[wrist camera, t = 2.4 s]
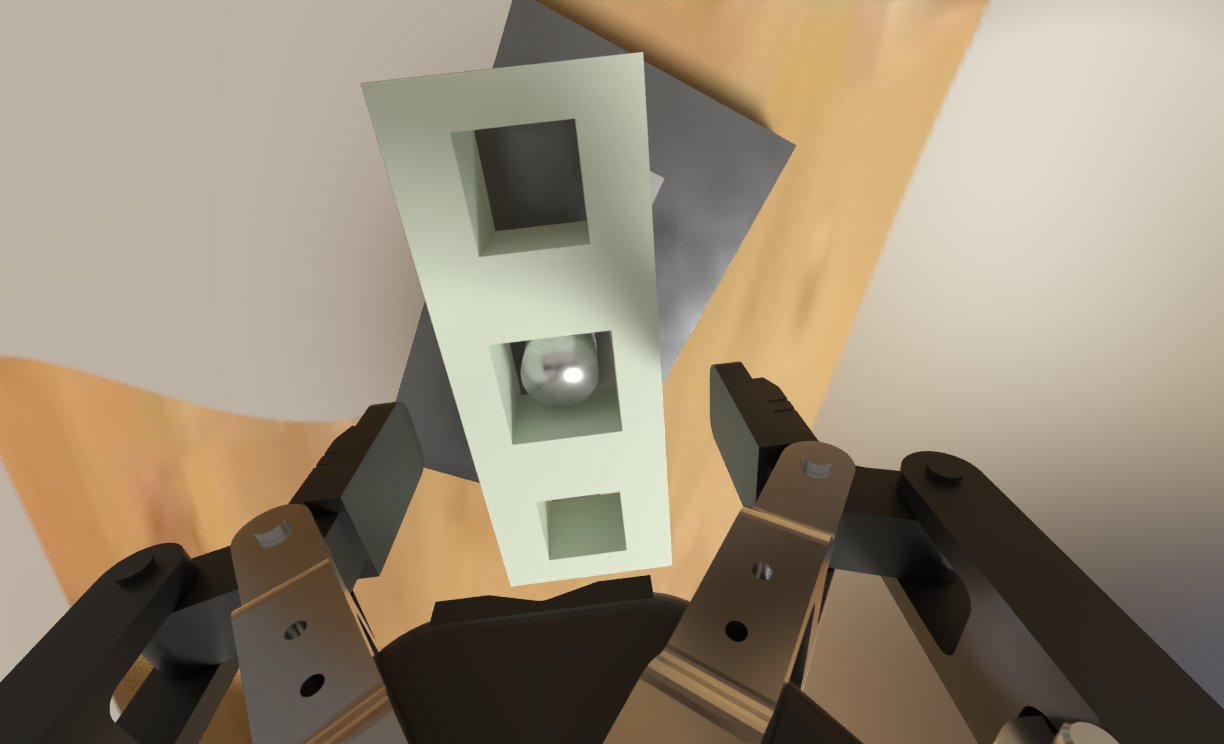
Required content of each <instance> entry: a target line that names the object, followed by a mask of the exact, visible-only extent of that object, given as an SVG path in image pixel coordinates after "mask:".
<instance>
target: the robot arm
mask: <svg viewBox="0 0 1224 744" xmlns="http://www.w3.org/2000/svg"><path fill="white" fill-rule="evenodd" d="M710 422H711V428H712V433H713V436H714V439H715V441H716V444H717V446H718V448H719V451H720V453H721V455H722V458H723V460H724V462H725V465H726V467H727V469H728V472H729V474H730V477H731V479H732V481H733V484H734V486H735V488H736V491H737V493H738V495H739V498H740V500H741V502H742V505H743V508H742V509H741V510H740V512H739V514H738V516H737V517H736V519H735V521H734V523H733V525H732V527H731V528H730V530H729V532H728V534H727V536H726V537H725V539H724V541H723V543H722V545H721V547H720V548H719V550H718V552H717V554H716V556H715V558H714V559H713V561H712V563H711V565H710V567H709V569H708V570H707V572H706V574H705V576H704V578H703V580H702V581H701V583H700V585H699V587H698V589H697V591H696V592H695V594H694V596H693V598H692V600H691V602H689V601H687V600H684V599H682V598H679V597H676V596H672V595H668V594H664V593H657V592H653V590H652V584H651V577H650V575H646V576H638V577H630V578H622V579H614V580H606V581H598V582H595V583H592V584H590V585H587V586H584V587H581V588H579V589H576V590H573V591H570V592H567V593H565V594H562V595H559V596H556V597H554V598H551V599H548V600H545V601H533V600H525V599H516V598H507V597H499V596H490V595H487V596H479V597H471V598H463V599H455V600H447V601H439V602H436V603H435V606H434V610H433V613H432V617H431V620H430V622H427V623H425V624H422V625H420V626H418V627H416V628H414V629H412V630H410V631H408V632H407V633H405V634H403V635H401V636H400V637H398V638H397V639H395V640H394V641H392V642H391V643H390V644H388V645H387V646H385V647H384V648H383V649H381V647H380V645H379V643H378V641H377V639H376V636H375V634H374V632H373V630H372V628H371V626H370V624H369V621H368V619H367V617H366V615H365V613H364V611H363V609H362V606H361V604H360V602H359V600H358V598H357V596H356V594H355V592H354V590H353V588H354V585H355V583H356V581H357V579H361V578H369V577H377V576H380V574H381V571H382V569H383V567H384V564H385V562H386V559H387V557H388V554H389V552H390V550H391V547H392V545H393V542H394V540H395V538H396V535H397V533H398V530H399V528H400V526H401V523H402V521H403V518H404V516H405V513H406V511H407V509H408V506H409V504H410V501H411V499H412V497H413V494H414V492H415V489H416V487H417V484H418V482H419V480H420V477H421V475H422V472H423V467H424V456H423V450H422V447H421V444H420V442H419V439H418V436H417V433H416V431H415V428H414V425H413V422H412V420H411V417H410V414H409V411H408V409H407V407H406V405H405V404H404V403H403V402H392V403H383V404H375V405H371V406H369V407H368V409H367V410H366V412H365V413H364V415H363V416H362V417H361V419H360V420H359V422H358V423H357V425H356V426H351V427H350V428H349V429H347V430H346V431H345V432H344V433H342V434H341V435H340V436H338V437H337V438H336V439H335V440H334V441H333V442H332V444H331V445H330V447H329V448H328V449H327V451H326V452H325V456H322V458H321V459H320V461H319V462H318V463H317V465H316V466H317V467H316V468H314V469H313V470H312V472H311V473H310V474H309V476H308V477H307V479H306V480H305V481H304V483H303V484H302V486H301V487H300V488H299V490H298V491H297V492H296V494H295V495H294V497H293V498H292V499H291V501H290V502H289V504H287V505H282V506H279V507H276V508H273V509H270V510H268V511H266V512H264V513H262V514H260V515H258V516H257V517H255V518H254V519H252V520H251V521H249V522H248V523H247V524H246V525H244V526H243V527H242V528H241V529H240V530H239V531H238V532H237V534H236V535H235V536H234V538H233V540H232V542H231V545H230V546H228V547H225V548H222V549H219V550H216V551H213V552H210V553H207V554H204V555H201V556H198V557H195V558H192V559H191V558H190V556H189V555H188V554H187V552H186V551H185V550H184V548H183V547H182V546H181V545H179V544H177V543H163V544H158V545H154V546H151V547H148V548H146V549H143V550H141V551H138V552H136V553H134V554H132V555H130V556H129V557H127V558H125V559H123V560H122V561H120V562H118V563H117V564H116V565H114V566H113V567H111V568H110V569H109V570H108V571H106V572H105V573H104V574H103V575H102V576H101V577H100V578H99V579H98V580H97V581H96V582H95V583H94V584H93V585H92V586H91V587H90V588H89V589H88V590H87V591H86V592H85V593H84V594H83V596H82V597H81V598H80V599H79V600H78V601H77V602H76V603H75V604H74V605H73V606H72V607H71V608H70V609H69V610H68V611H67V612H66V614H65V615H64V616H63V617H62V618H61V619H60V620H59V621H58V622H57V623H56V624H55V625H54V626H53V627H52V628H51V629H50V630H49V632H48V633H47V634H46V635H45V636H44V637H43V638H42V639H41V640H40V641H39V642H38V643H37V644H36V645H35V646H34V647H33V648H32V649H31V651H30V652H29V653H28V654H27V655H26V656H25V657H24V658H23V659H22V660H21V661H20V662H19V663H18V664H17V665H16V666H15V668H14V669H13V670H12V671H11V672H10V673H9V674H8V675H7V676H6V677H5V678H4V679H3V680H2V681H1V682H0V744H198V743H199V741H200V739H201V737H202V735H203V734H204V732H205V730H206V728H207V726H208V724H209V723H210V721H211V719H212V717H213V715H214V713H215V711H216V710H217V708H218V706H219V704H220V702H221V700H222V698H223V697H224V695H225V693H226V691H227V689H228V687H229V686H230V684H231V682H232V680H233V678H234V676H235V674H236V673H237V671H238V669H239V668H240V674H241V679H242V685H243V691H244V697H245V703H246V708H247V714H248V720H249V726H250V732H251V737H252V743H253V744H864V743H862V742H861V741H860V740H859V739H858V738H856V737H855V736H854V735H853V734H852V733H851V732H850V731H848V730H847V729H846V728H845V727H843V725H841V724H840V723H839V722H838V721H837V720H835V719H834V718H833V717H832V716H831V715H830V714H828V713H827V712H826V711H825V710H824V709H823V708H821V707H820V706H819V705H818V704H817V703H815V702H814V701H813V700H812V699H811V698H810V697H809V696H807V695H806V694H805V693H804V692H803V689H804V685H805V682H806V678H807V674H808V670H809V666H810V662H811V658H812V653H813V649H814V645H815V641H816V637H817V634H818V631H819V627H820V624H821V620H822V617H823V613H824V610H825V607H826V603H827V600H828V596H829V593H830V590H831V586H832V583H833V579H834V576H835V572H836V569H841V570H848V571H854V572H861V573H867V574H873V575H880V576H881V577H882V579H883V581H884V582H885V584H886V586H887V587H888V589H889V591H890V593H891V594H892V596H893V598H894V600H895V601H896V603H897V605H898V606H899V608H900V610H901V612H902V613H903V615H904V617H905V619H906V620H907V622H908V624H909V625H910V627H911V629H912V631H913V632H914V634H915V636H916V637H917V639H918V641H919V643H920V644H921V646H922V648H923V649H924V651H925V653H926V655H927V656H928V658H929V660H930V662H931V663H932V665H933V667H934V668H935V670H936V672H937V674H938V675H939V677H940V679H941V681H942V682H943V684H944V686H945V687H946V689H947V691H948V692H949V694H950V696H951V697H952V699H953V701H954V703H955V705H956V706H957V708H958V710H959V712H960V713H961V715H962V717H963V718H964V720H965V722H966V723H967V725H968V727H969V729H970V730H971V732H972V734H973V736H974V737H975V739H976V741H977V742H978V744H1224V709H1223V708H1222V707H1221V706H1220V705H1219V704H1217V702H1216V701H1215V700H1214V699H1212V697H1210V696H1209V694H1207V693H1206V692H1205V691H1204V690H1203V689H1202V688H1201V687H1200V686H1199V685H1198V684H1197V683H1196V682H1195V681H1194V680H1193V679H1192V678H1191V677H1190V676H1189V675H1188V674H1187V673H1186V672H1185V671H1184V670H1183V669H1182V668H1181V667H1180V666H1179V665H1178V664H1177V663H1176V662H1175V661H1174V660H1173V659H1172V658H1171V657H1169V655H1168V654H1167V653H1166V652H1165V651H1163V649H1162V648H1161V647H1160V646H1159V645H1157V644H1156V643H1155V642H1154V641H1153V640H1152V639H1151V638H1150V637H1149V636H1148V635H1147V634H1146V633H1145V632H1144V631H1143V630H1142V629H1141V628H1140V627H1139V626H1138V625H1137V624H1136V623H1135V622H1134V621H1133V620H1132V619H1131V618H1130V617H1129V616H1128V615H1127V614H1126V613H1125V612H1124V611H1123V610H1122V609H1121V608H1120V607H1119V606H1118V605H1117V604H1116V603H1115V602H1114V601H1113V600H1112V599H1111V598H1109V597H1108V595H1107V594H1106V593H1105V592H1103V591H1102V590H1101V589H1100V588H1099V587H1098V586H1097V585H1096V584H1095V583H1094V582H1093V581H1092V580H1091V579H1090V578H1089V577H1088V576H1087V575H1086V574H1085V573H1084V572H1083V571H1082V570H1081V569H1080V568H1079V567H1078V566H1077V565H1076V564H1075V563H1074V562H1073V561H1072V560H1071V559H1070V558H1069V557H1068V556H1067V555H1066V554H1065V553H1064V552H1063V551H1062V550H1061V549H1060V548H1059V547H1058V546H1057V545H1056V544H1055V543H1053V542H1052V541H1051V540H1050V539H1049V538H1048V537H1047V536H1046V535H1045V534H1044V533H1043V532H1042V531H1041V530H1040V529H1039V528H1038V527H1037V526H1036V525H1035V524H1034V523H1033V522H1032V521H1031V520H1030V519H1029V518H1028V517H1027V516H1026V515H1025V514H1024V513H1023V512H1022V511H1021V510H1020V509H1019V508H1018V507H1017V506H1016V505H1015V504H1014V503H1013V502H1012V501H1011V500H1010V499H1009V498H1008V497H1007V496H1006V495H1005V494H1004V493H1003V492H1001V491H1000V489H999V488H997V487H996V486H995V485H994V484H993V483H992V482H991V481H990V480H989V479H988V478H987V477H986V476H985V475H984V474H983V473H982V472H981V471H980V470H979V469H978V468H976V467H975V466H973V465H972V464H971V463H969V462H967V461H965V460H963V459H960V458H958V457H956V456H953V455H949V454H945V453H941V452H933V451H922V452H916V453H912V454H910V455H908V456H906V457H905V458H904V459H903V461H902V463H901V467H900V471H894V470H885V469H874V468H866V467H860V466H855V464H854V462H853V460H852V459H851V457H850V456H849V455H848V454H847V453H845V452H844V451H843V450H841V449H839V448H837V447H835V446H833V445H830V444H827V443H823V442H819V441H818V440H817V438H816V437H815V436H814V434H813V433H812V431H811V430H810V429H809V427H808V426H807V425H806V423H805V422H804V421H803V419H802V418H801V417H800V415H799V414H798V412H797V411H795V410H794V407H793V406H792V404H791V403H790V402H789V401H787V397H786V396H785V395H784V393H783V392H782V391H781V389H780V388H779V387H778V386H776V385H775V384H773V383H771V382H770V381H768V380H766V379H765V378H755V379H752V378H751V376H750V374H749V373H748V371H747V370H746V368H745V367H744V365H743V364H742V363H741V362H732V363H724V364H715V365H712V366H711V369H710ZM140 654H142V655H143V656H144V657H145V658H146V659H147V660H148V661H149V662H150V663H151V664H152V665H153V666H154V668H153V670H152V671H151V673H150V674H149V675H148V677H147V678H146V680H145V681H144V683H143V684H142V685H141V687H140V688H139V690H138V691H137V693H136V694H135V696H134V697H133V698H132V700H131V701H130V703H129V704H128V706H127V707H126V709H125V710H124V711H123V713H122V714H121V716H120V717H119V719H118V720H117V722H116V723H115V722H114V721H113V720H112V718H111V716H110V701H111V698H112V695H113V692H114V691H115V689H116V687H117V685H118V684H119V683H120V681H121V680H122V679H123V677H124V676H125V674H126V673H127V672H128V670H129V669H130V668H131V666H132V665H133V664H134V662H135V661H136V660H137V658H138V657H139V655H140Z"/></svg>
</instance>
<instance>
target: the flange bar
mask: <svg viewBox="0 0 1224 744" xmlns="http://www.w3.org/2000/svg"><path fill="white" fill-rule="evenodd" d="M361 86H362V90H363V93H364V96H365V100H366V103H367V107H368V110H369V113H370V117H371V120H372V123H373V127H374V130H375V133H376V137H377V140H378V144H379V147H380V150H381V154H382V157H383V160H384V164H385V167H386V170H387V174H388V177H389V180H390V184H391V187H392V190H393V194H394V197H395V200H396V204H397V207H398V210H399V214H400V217H401V220H402V224H403V227H404V230H405V233H406V237H407V241H408V244H409V247H410V250H411V254H412V257H413V261H414V264H415V267H416V271H417V274H418V277H419V281H420V284H421V287H422V291H423V294H424V297H425V301H426V304H427V307H428V311H429V314H430V317H431V321H432V324H433V327H434V331H435V334H436V338H437V341H438V344H439V348H440V351H441V354H442V358H443V361H444V364H445V368H446V371H447V374H448V378H449V381H450V384H451V388H452V391H453V394H454V398H455V401H456V404H457V408H458V411H459V414H460V418H461V421H462V424H463V428H464V431H465V435H466V438H467V441H468V445H469V448H470V451H471V455H472V458H473V461H474V465H475V468H476V471H477V475H478V478H479V481H480V485H481V488H482V491H483V495H484V498H485V501H486V505H487V508H488V511H489V515H490V518H491V522H492V525H493V528H494V532H495V535H496V538H497V542H498V545H499V548H500V552H501V555H502V558H503V562H504V565H505V568H506V572H507V575H508V578H509V582H510V585H511V586H519V585H526V584H534V583H542V582H549V581H557V580H564V579H572V578H580V577H587V576H595V575H603V574H610V573H618V572H626V571H633V570H641V569H649V568H656V567H664V566H672V553H671V535H670V518H669V500H668V482H667V465H666V447H665V429H664V412H663V394H662V377H661V359H660V341H659V324H658V306H657V288H656V271H655V253H654V235H653V218H652V200H651V182H650V165H649V147H648V130H647V112H646V94H645V77H644V59H643V52H638V53H629V54H620V55H611V56H602V57H593V58H584V59H575V60H566V61H557V62H548V63H539V64H530V65H521V66H511V67H502V68H493V69H484V70H476V71H466V72H457V73H448V74H439V75H430V76H421V77H412V78H403V79H394V80H385V81H376V82H366V83H361ZM566 119H575V126H576V134H577V143H578V151H579V159H580V168H581V176H582V184H583V193H584V201H585V209H586V218H587V221H580V222H571V223H562V224H554V225H545V226H537V227H528V228H520V229H511V230H502V231H495V227H494V222H493V218H492V213H491V208H490V203H489V199H488V194H487V189H486V184H485V180H484V175H483V170H482V165H481V161H480V156H479V151H478V146H477V142H476V137H475V132H474V130H478V129H487V128H495V127H504V126H513V125H522V124H531V123H540V122H549V121H558V120H566ZM601 331H609V336H610V345H611V354H612V363H613V372H614V381H615V383H613V384H605V385H597V386H596V387H595V389H594V391H593V392H592V393H591V395H590V396H588V397H587V398H586V399H585V400H584V401H582V402H580V403H578V404H576V405H573V406H569V407H551V406H548V405H545V404H542V403H540V402H538V401H537V400H535V399H534V398H533V397H532V396H530V395H529V394H524V395H521V391H520V386H519V382H518V377H517V373H516V368H515V364H514V359H513V355H512V350H511V346H510V342H519V341H527V340H535V339H543V338H552V337H560V336H568V335H576V334H585V333H593V332H601ZM611 492H620V493H612V494H605V495H597V496H589V497H581V498H573V499H565V500H558V501H552V500H556V499H564V498H572V497H580V496H587V495H595V494H603V493H611Z"/></svg>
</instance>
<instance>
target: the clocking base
mask: <svg viewBox="0 0 1224 744" xmlns="http://www.w3.org/2000/svg"><path fill="white" fill-rule="evenodd" d="M620 54H629V52H627V51H626V50H624V49H622V48H620V47H618V46H617V45H615V44H613V43H611V42H609V41H608V40H606V39H604V38H602V37H600V36H599V35H597V34H595V33H593V32H591V31H590V30H588V29H586V28H584V27H582V26H581V25H579V24H577V23H575V22H573V21H572V20H570V19H568V18H566V17H564V16H563V15H561V14H559V13H557V12H555V11H554V10H552V9H550V8H548V7H546V6H545V5H543V4H541V3H539V2H537V1H536V0H513V1H512V4H511V8H510V11H509V14H508V18H507V21H506V25H505V28H504V32H503V35H502V39H501V42H500V45H499V49H498V52H497V56H496V59H495V63H494V66H493V68H502V67H511V66H521V65H530V64H539V63H548V62H557V61H566V60H575V59H584V58H593V57H602V56H611V55H620ZM644 77H645V94H646V112H647V130H648V147H649V165H650V182H651V200H652V218H653V235H654V253H655V271H656V288H657V306H658V324H659V341H660V359H661V377H662V384H663V382H664V380H665V378H666V377H667V375H668V373H669V371H670V370H671V368H672V366H673V364H674V362H675V361H676V359H677V357H678V355H679V354H680V352H681V350H682V348H683V346H684V345H685V343H686V341H687V339H688V338H689V336H690V334H691V332H692V330H693V329H694V327H695V325H696V323H697V321H698V320H699V318H700V316H701V314H702V313H703V311H704V309H705V307H706V305H707V304H708V302H709V300H710V298H711V297H712V295H713V293H714V291H715V289H716V288H717V286H718V284H719V282H720V281H721V279H722V277H723V275H724V273H725V272H726V270H727V268H728V266H729V264H730V263H731V261H732V259H733V257H734V256H735V254H736V252H737V250H738V248H739V247H740V245H741V243H742V241H743V240H744V238H745V236H746V234H747V232H748V231H749V229H750V227H751V225H752V224H753V222H754V220H755V218H756V216H757V215H758V213H759V211H760V209H761V207H762V206H763V204H764V202H765V200H766V199H767V197H768V195H769V193H770V191H771V190H772V188H773V186H774V184H775V183H776V181H777V179H778V177H779V175H780V174H781V172H782V170H783V168H784V167H785V165H786V163H787V161H788V159H789V158H790V156H791V154H792V152H793V150H794V149H795V147H796V145H795V144H793V143H791V142H789V141H788V140H786V139H784V138H782V137H780V136H779V135H777V134H775V133H773V132H771V131H770V130H768V129H766V128H764V127H762V126H761V125H759V124H757V123H755V122H753V121H752V120H750V119H748V118H746V117H744V116H743V115H741V114H739V113H737V112H735V111H734V110H732V109H730V108H728V107H726V106H725V105H723V104H721V103H719V102H717V101H716V100H714V99H712V98H710V97H708V96H707V95H705V94H703V93H701V92H699V91H698V90H696V89H694V88H692V87H690V86H689V85H687V84H685V83H683V82H681V81H680V80H678V79H676V78H674V77H672V76H671V75H669V74H667V73H665V72H663V71H662V70H660V69H658V68H656V67H654V66H653V65H651V64H649V63H647V62H645V61H644ZM474 132H475V137H476V142H477V146H478V151H479V156H480V161H481V165H482V170H483V175H484V180H485V184H486V189H487V194H488V199H489V203H490V208H491V213H492V218H493V222H494V227H495V231H502V230H511V229H520V228H528V227H537V226H545V225H554V224H562V223H571V222H580V221H587V218H586V209H585V201H584V193H583V184H582V176H581V168H580V159H579V151H578V143H577V134H576V126H575V119H566V120H558V121H549V122H540V123H531V124H522V125H513V126H504V127H495V128H487V129H478V130H475V131H474ZM510 346H511V350H512V355H513V359H514V364H515V368H516V373H517V377H518V382H519V386H520V391H521V395H524V394H529V395H530V396H532V397H533V398H534V399H535V400H537V401H538V402H540V403H542V404H545V405H548V406H551V407H569V406H573V405H576V404H578V403H580V402H582V401H584V400H585V399H586V398H587V397H588V396H590V395H591V393H592V392H593V391H594V389H595V387H596V386H597V385H605V384H613V383H615V381H614V372H613V363H612V354H611V345H610V336H609V331H601V332H593V333H585V334H576V335H568V336H560V337H552V338H543V339H535V340H527V341H519V342H510ZM396 402H403V403H404V404H405V405H406V407H407V409H408V411H409V414H410V417H411V420H412V422H413V425H414V428H415V431H416V433H417V436H418V439H419V442H420V444H421V447H422V450H423V456H424V468H428V469H432V470H435V471H439V472H442V473H446V474H449V475H453V476H457V477H460V478H464V479H467V480H471V481H475V482H478V483H480V481H479V478H478V475H477V471H476V468H475V465H474V461H473V458H472V455H471V451H470V448H469V445H468V441H467V438H466V435H465V431H464V428H463V424H462V421H461V418H460V414H459V411H458V408H457V404H456V401H455V398H454V394H453V391H452V388H451V384H450V381H449V378H448V374H447V371H446V368H445V364H444V361H443V358H442V354H441V351H440V348H439V344H438V341H437V338H436V334H435V331H434V327H433V324H432V321H431V317H430V314H429V311H428V307H427V304H426V301H425V303H424V306H423V310H422V313H421V317H420V320H419V324H418V327H417V331H416V334H415V338H414V341H413V344H412V348H411V351H410V355H409V358H408V361H407V365H406V369H405V372H404V375H403V379H402V382H401V386H400V389H399V392H398V396H397V399H396ZM597 495H600V494H595V495H587V496H580V497H572V498H564V499H556V500H552V501H558V500H565V499H573V498H581V497H589V496H597Z"/></svg>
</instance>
